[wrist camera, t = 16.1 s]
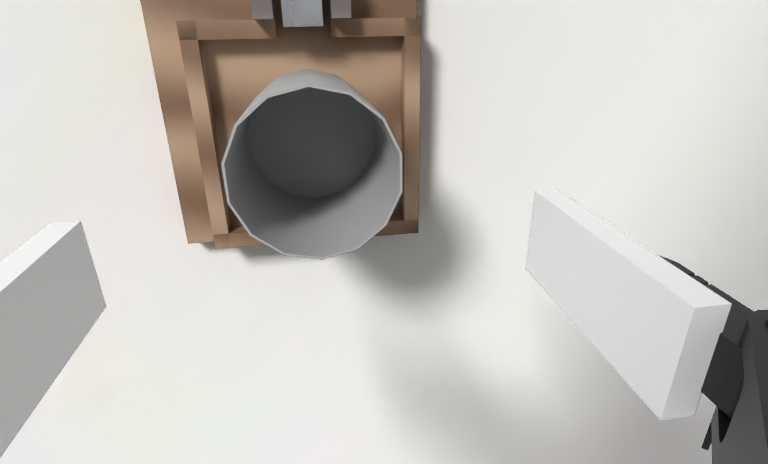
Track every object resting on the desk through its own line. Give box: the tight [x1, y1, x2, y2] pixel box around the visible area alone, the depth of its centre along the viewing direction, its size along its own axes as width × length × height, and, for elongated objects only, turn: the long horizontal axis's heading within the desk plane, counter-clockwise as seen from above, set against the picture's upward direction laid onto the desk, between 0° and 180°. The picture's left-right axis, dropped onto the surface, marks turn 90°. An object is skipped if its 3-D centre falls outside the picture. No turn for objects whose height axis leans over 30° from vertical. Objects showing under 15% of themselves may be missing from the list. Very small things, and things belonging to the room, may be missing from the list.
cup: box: [221, 69, 402, 260], centre depth 27 cm, size 8×8×10 cm
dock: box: [140, 0, 421, 248], centre depth 30 cm, size 17×16×4 cm
